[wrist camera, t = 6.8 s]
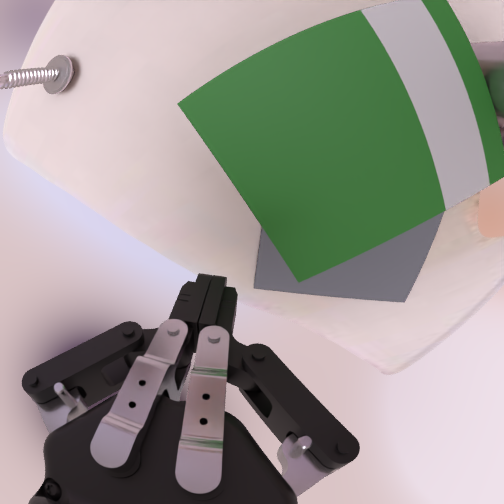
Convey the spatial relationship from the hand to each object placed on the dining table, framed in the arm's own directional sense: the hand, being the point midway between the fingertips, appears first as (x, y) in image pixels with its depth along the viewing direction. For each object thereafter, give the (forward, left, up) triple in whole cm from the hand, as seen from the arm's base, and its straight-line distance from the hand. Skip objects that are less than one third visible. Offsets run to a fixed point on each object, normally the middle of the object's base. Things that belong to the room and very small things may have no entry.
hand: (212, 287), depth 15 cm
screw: (+22, -14, -16) cm, 31 cm away
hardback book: (-1, -2, -12) cm, 12 cm away
